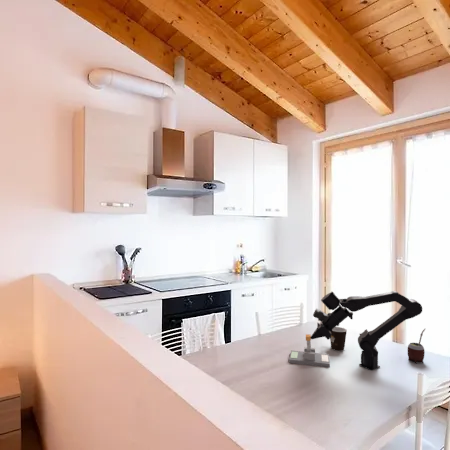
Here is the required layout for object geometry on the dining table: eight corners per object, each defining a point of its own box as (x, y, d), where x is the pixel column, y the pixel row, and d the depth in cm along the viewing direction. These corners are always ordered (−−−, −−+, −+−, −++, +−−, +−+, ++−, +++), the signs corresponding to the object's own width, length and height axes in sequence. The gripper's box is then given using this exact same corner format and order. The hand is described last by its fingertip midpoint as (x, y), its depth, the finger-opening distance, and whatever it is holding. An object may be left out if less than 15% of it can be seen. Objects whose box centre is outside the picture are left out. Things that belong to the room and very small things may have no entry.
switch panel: (328, 357, 169) (329, 348, 169) (329, 367, 157) (329, 357, 157) (291, 353, 174) (291, 344, 174) (289, 362, 162) (289, 353, 162)
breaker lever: (312, 354, 167) (310, 334, 167) (312, 357, 163) (310, 336, 164) (307, 354, 168) (305, 334, 168) (307, 357, 164) (305, 336, 164)
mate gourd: (407, 362, 164) (407, 330, 164) (407, 356, 171) (408, 326, 171) (425, 365, 161) (426, 333, 160) (425, 359, 168) (425, 328, 167)
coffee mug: (348, 351, 177) (349, 332, 176) (331, 351, 177) (331, 331, 177) (341, 343, 188) (341, 325, 188) (325, 343, 188) (325, 325, 188)
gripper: (323, 299, 173) (300, 319, 176) (324, 308, 155) (298, 330, 158) (339, 317, 171) (315, 337, 174) (342, 328, 153) (315, 350, 156)
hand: (311, 338), depth 165 cm, fingers closed, pressing on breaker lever
